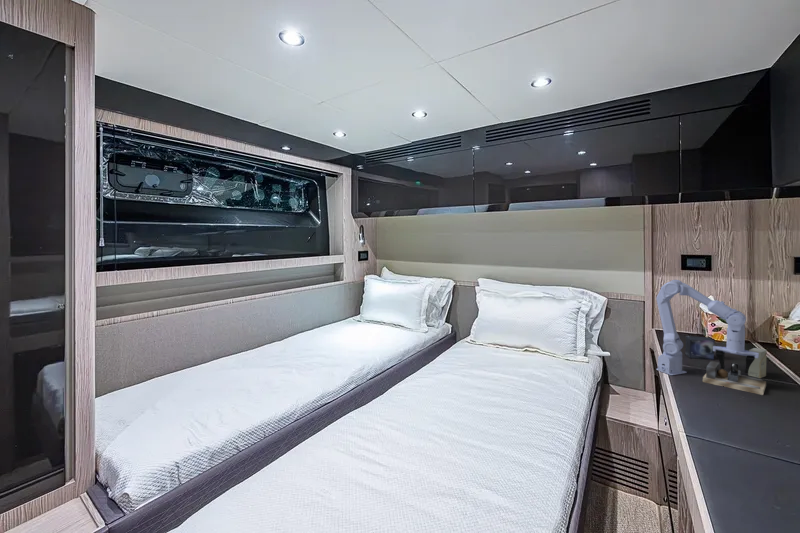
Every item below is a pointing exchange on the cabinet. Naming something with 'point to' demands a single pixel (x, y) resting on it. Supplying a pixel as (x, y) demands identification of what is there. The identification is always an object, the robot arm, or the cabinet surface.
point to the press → (721, 379)
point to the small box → (699, 347)
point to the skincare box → (758, 364)
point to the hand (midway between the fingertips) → (734, 370)
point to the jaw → (734, 372)
